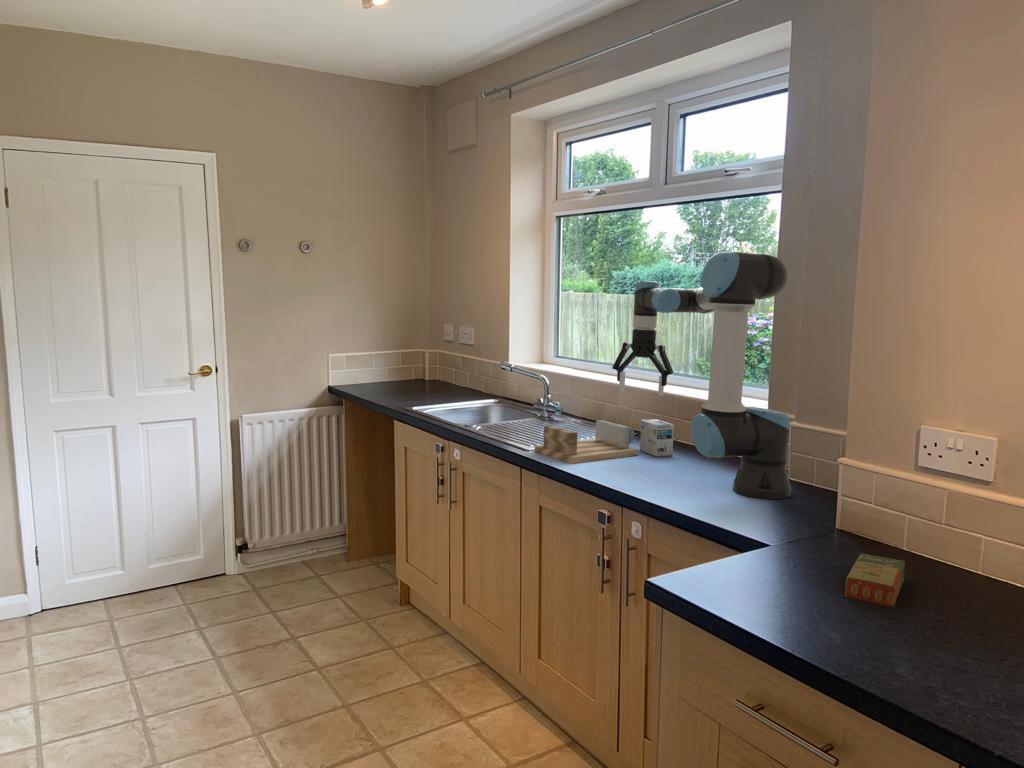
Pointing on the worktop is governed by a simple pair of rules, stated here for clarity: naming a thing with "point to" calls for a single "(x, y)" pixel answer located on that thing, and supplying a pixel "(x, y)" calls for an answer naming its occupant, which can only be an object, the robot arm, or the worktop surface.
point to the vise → (578, 447)
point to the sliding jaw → (614, 434)
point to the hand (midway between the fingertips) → (640, 393)
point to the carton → (875, 579)
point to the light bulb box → (656, 437)
